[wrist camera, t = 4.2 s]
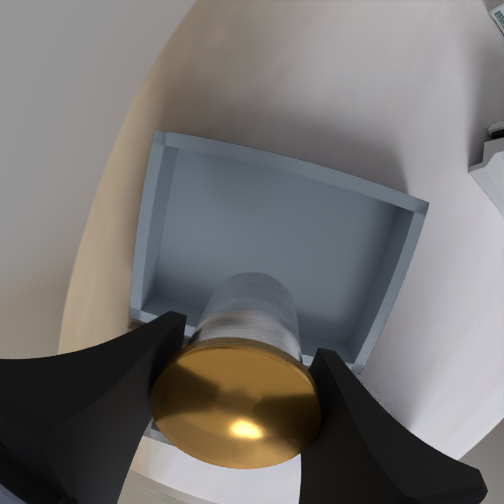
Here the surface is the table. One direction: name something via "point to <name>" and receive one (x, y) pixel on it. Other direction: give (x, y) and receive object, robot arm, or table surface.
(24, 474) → the robot arm
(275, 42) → the table surface
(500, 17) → the syrup box
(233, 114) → the table surface
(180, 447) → the gold-rimmed cylinder
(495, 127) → the grey toaster
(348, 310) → the tray
